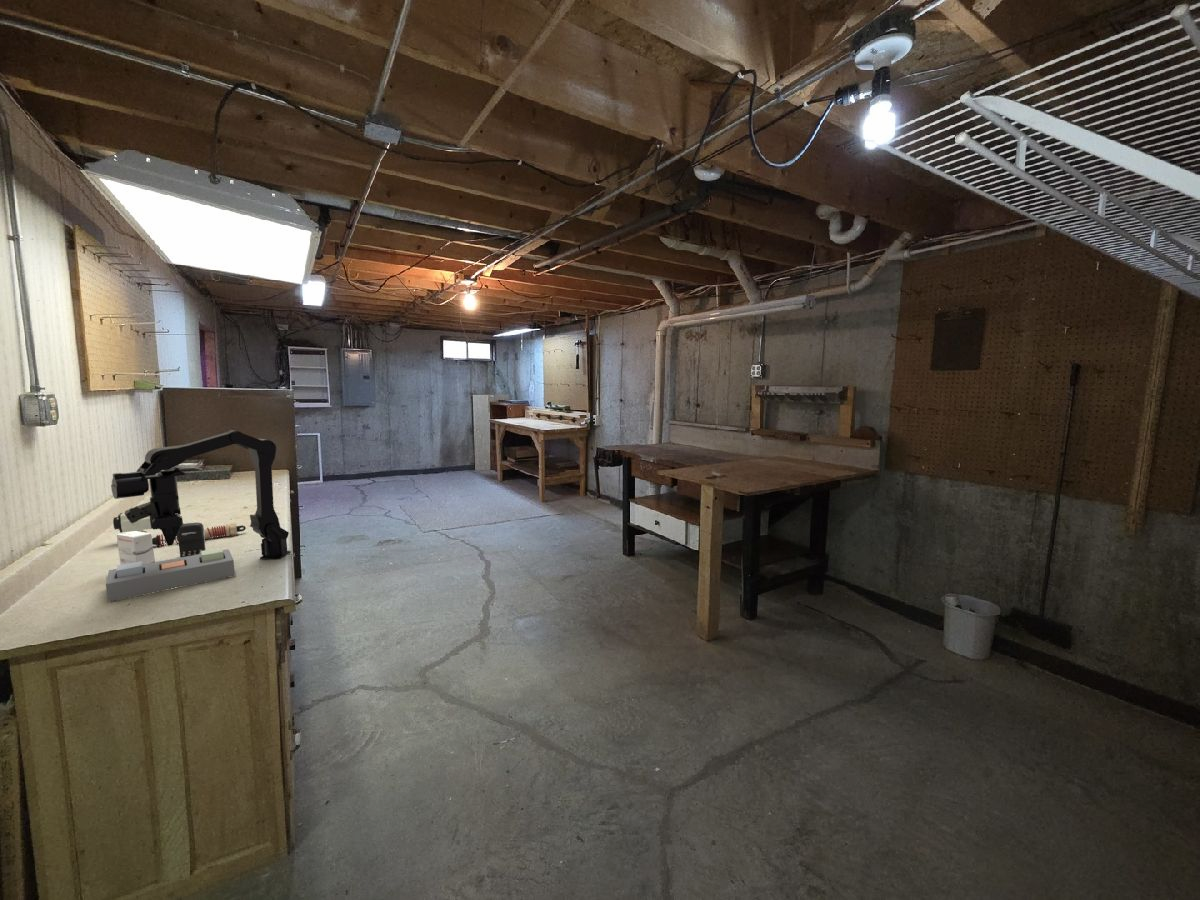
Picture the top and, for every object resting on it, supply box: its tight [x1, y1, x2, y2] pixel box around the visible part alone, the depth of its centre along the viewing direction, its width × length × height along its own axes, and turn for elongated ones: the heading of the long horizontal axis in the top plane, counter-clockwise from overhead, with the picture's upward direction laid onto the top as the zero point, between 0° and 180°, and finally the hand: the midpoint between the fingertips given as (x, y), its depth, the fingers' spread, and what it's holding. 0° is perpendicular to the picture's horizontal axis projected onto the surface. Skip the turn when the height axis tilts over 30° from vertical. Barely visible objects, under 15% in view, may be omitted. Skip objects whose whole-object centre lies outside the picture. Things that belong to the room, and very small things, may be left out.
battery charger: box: [176, 521, 207, 558], centre depth 161 cm, size 7×4×11 cm, turn 120°
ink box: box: [116, 531, 156, 565], centre depth 149 cm, size 9×5×12 cm, turn 71°
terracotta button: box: [161, 560, 185, 570], centre depth 141 cm, size 5×5×4 cm
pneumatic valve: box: [112, 512, 154, 534], centre depth 175 cm, size 6×12×12 cm, turn 127°
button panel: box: [105, 548, 236, 603], centre depth 141 cm, size 27×13×5 cm, turn 133°
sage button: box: [201, 547, 224, 562], centre depth 147 cm, size 5×5×4 cm
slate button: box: [116, 561, 143, 578], centre depth 135 cm, size 5×5×4 cm
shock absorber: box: [152, 522, 247, 547], centre depth 178 cm, size 5×5×30 cm
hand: (170, 545), depth 140 cm, fingers closed
